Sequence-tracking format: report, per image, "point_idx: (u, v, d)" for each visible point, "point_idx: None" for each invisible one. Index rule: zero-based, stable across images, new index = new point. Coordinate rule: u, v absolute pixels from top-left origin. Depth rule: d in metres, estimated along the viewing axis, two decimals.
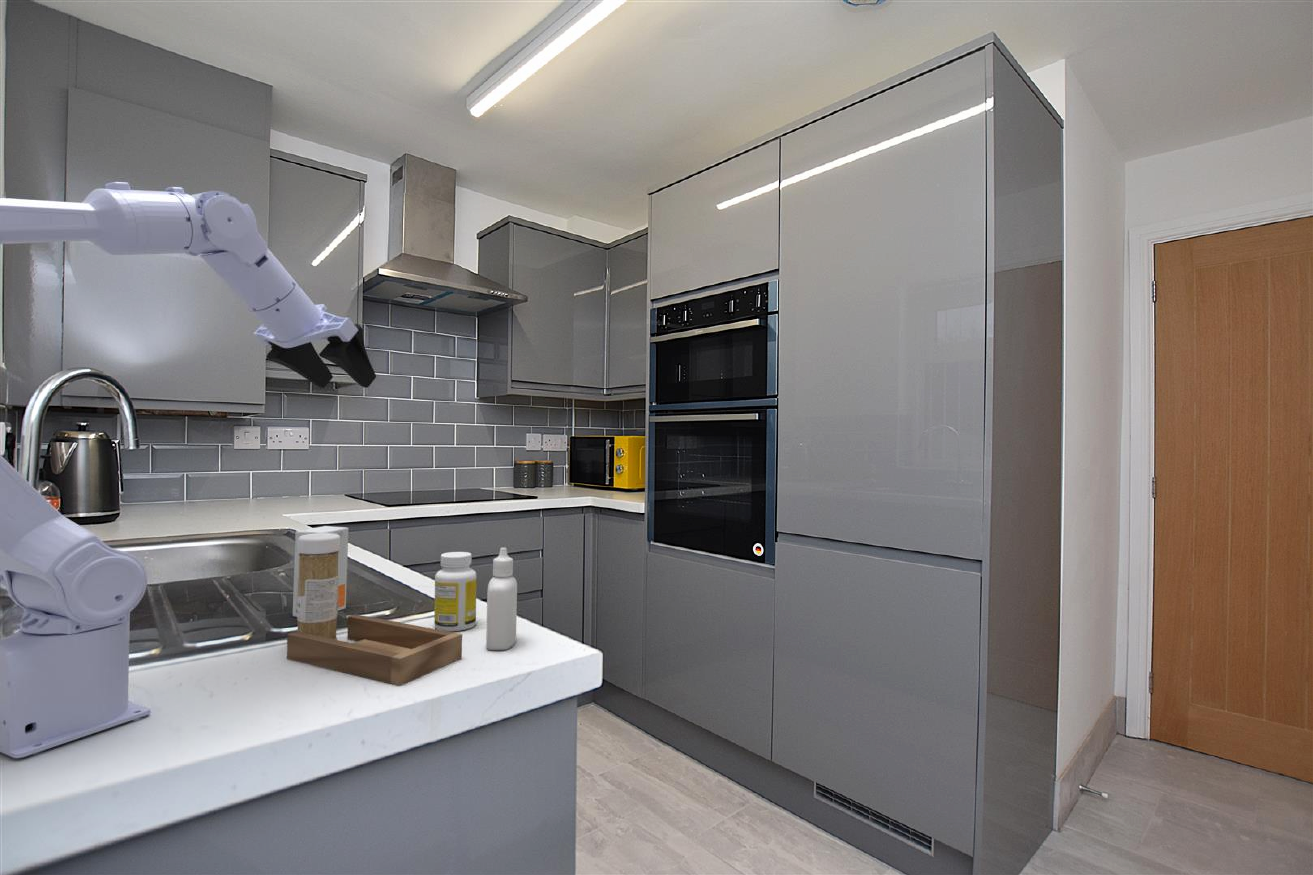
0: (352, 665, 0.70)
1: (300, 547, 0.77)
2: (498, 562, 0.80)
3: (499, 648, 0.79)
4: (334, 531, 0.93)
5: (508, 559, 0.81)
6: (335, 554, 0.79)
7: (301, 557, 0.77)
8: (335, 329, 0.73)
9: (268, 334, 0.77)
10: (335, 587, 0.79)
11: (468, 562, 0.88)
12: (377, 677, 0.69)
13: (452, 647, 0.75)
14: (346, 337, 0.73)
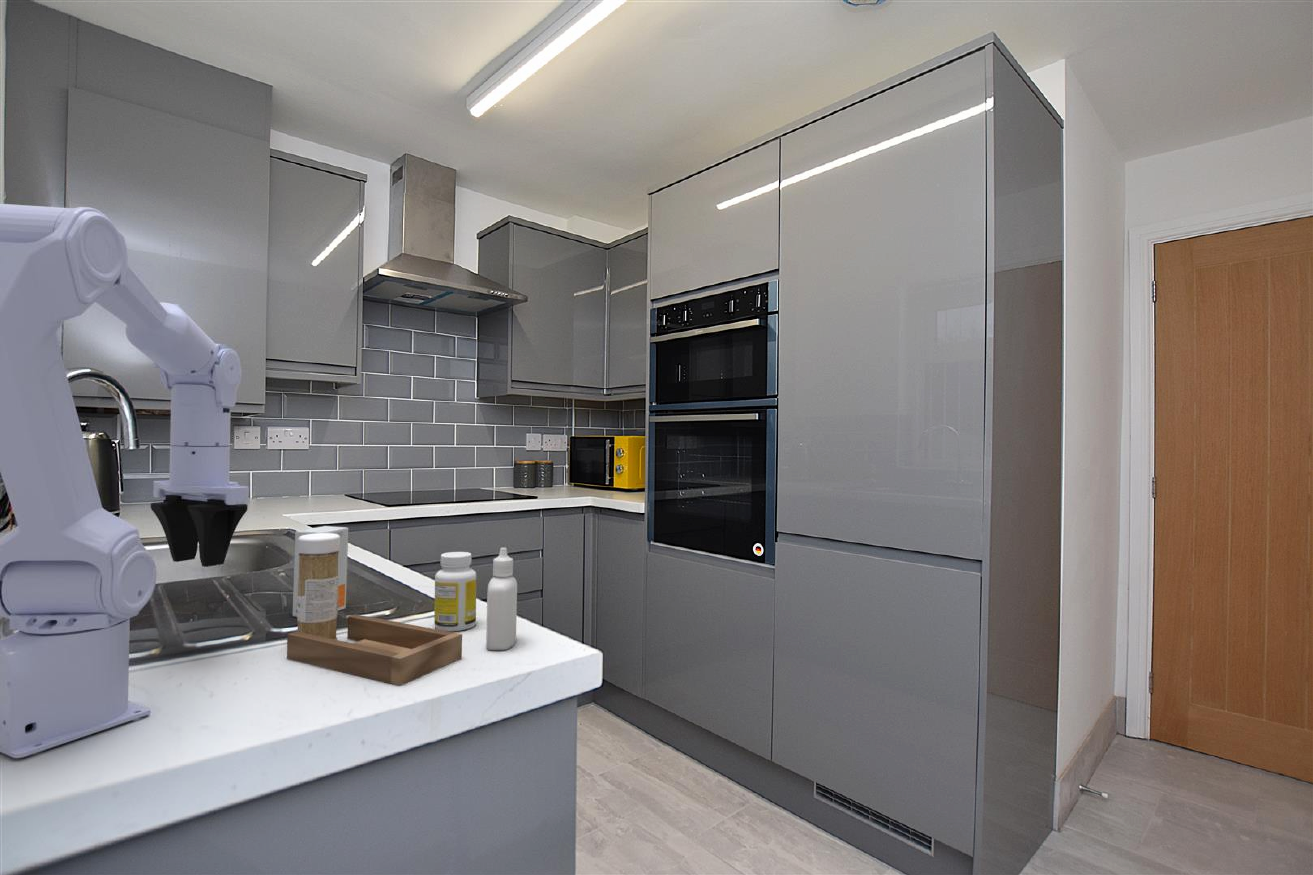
0: (352, 665, 0.70)
1: (300, 547, 0.77)
2: (498, 562, 0.80)
3: (499, 648, 0.79)
4: (334, 531, 0.93)
5: (508, 559, 0.81)
6: (335, 554, 0.79)
7: (301, 557, 0.77)
8: (228, 488, 0.72)
9: (166, 483, 0.77)
10: (335, 587, 0.79)
11: (468, 562, 0.88)
12: (377, 677, 0.69)
13: (452, 647, 0.75)
14: (231, 500, 0.72)
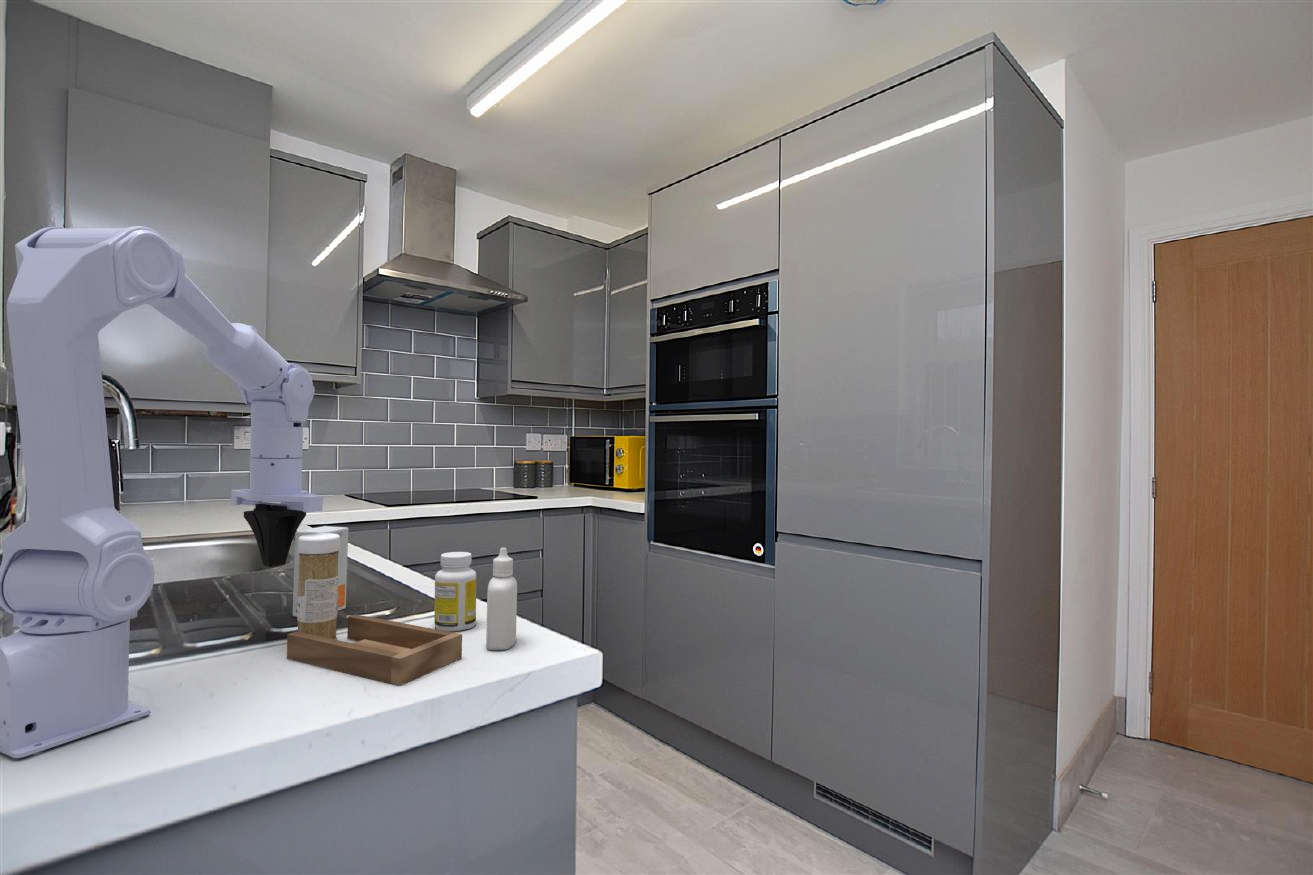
0: (352, 665, 0.70)
1: (300, 547, 0.77)
2: (498, 562, 0.80)
3: (499, 648, 0.79)
4: (334, 531, 0.93)
5: (508, 559, 0.81)
6: (335, 554, 0.79)
7: (301, 557, 0.77)
8: (305, 496, 0.79)
9: (244, 492, 0.83)
10: (335, 587, 0.79)
11: (468, 562, 0.88)
12: (377, 677, 0.69)
13: (452, 647, 0.75)
14: (309, 507, 0.79)
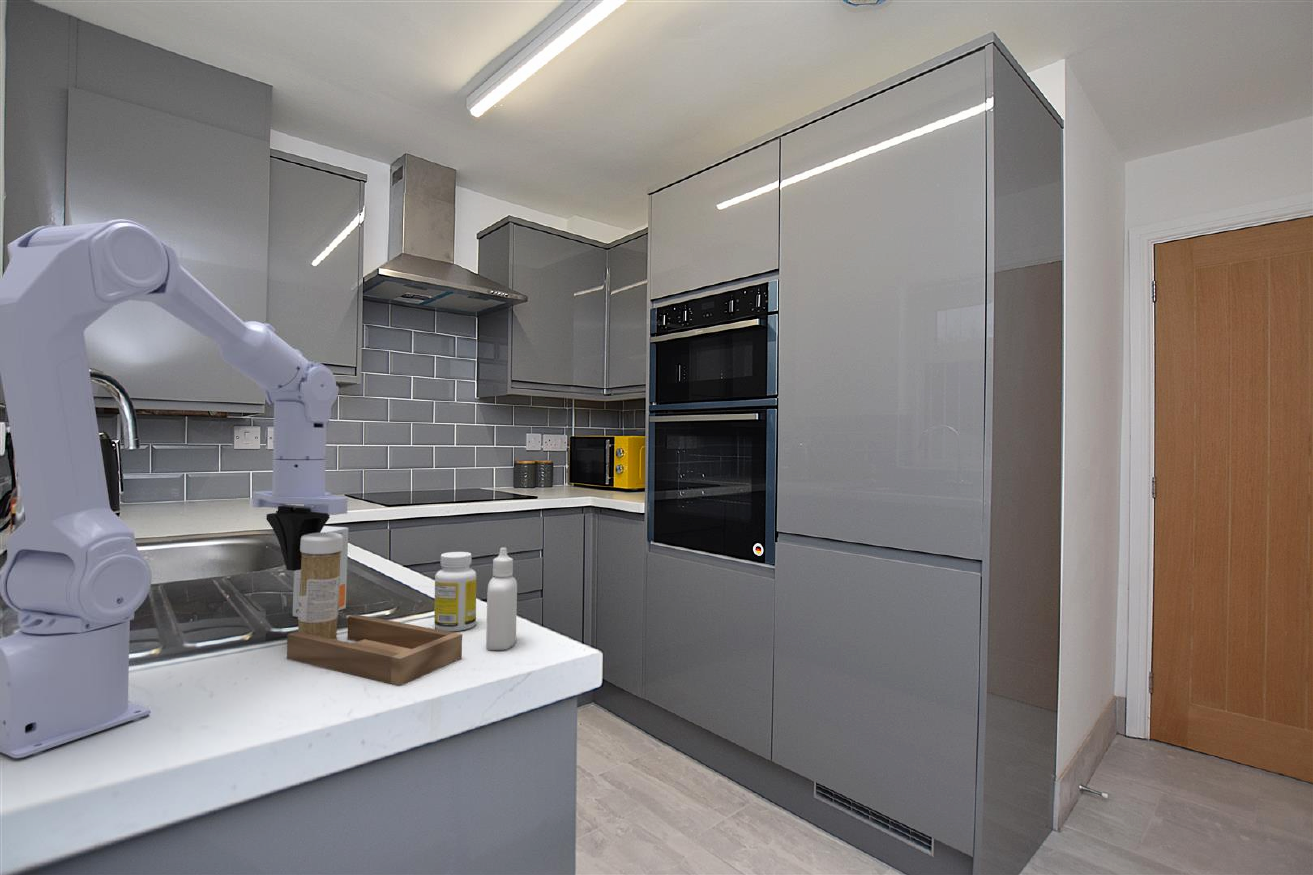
0: (352, 665, 0.70)
1: (303, 546, 0.77)
2: (498, 562, 0.80)
3: (499, 648, 0.79)
4: (334, 531, 0.93)
5: (508, 559, 0.81)
6: (337, 554, 0.79)
7: (303, 557, 0.77)
8: (330, 499, 0.77)
9: (266, 494, 0.81)
10: (337, 587, 0.79)
11: (468, 562, 0.88)
12: (377, 677, 0.69)
13: (452, 647, 0.75)
14: (334, 510, 0.77)
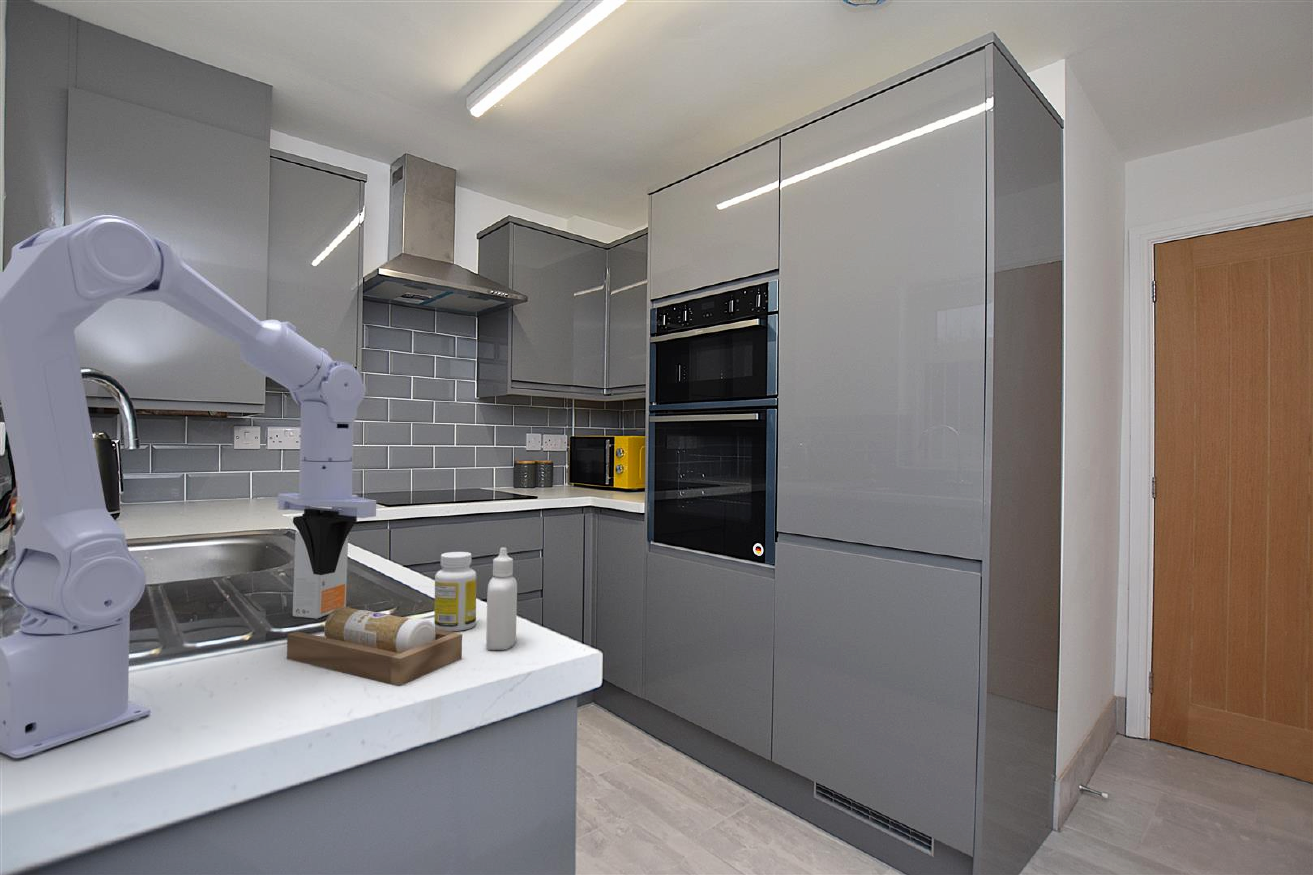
0: (352, 665, 0.70)
1: (403, 629, 0.73)
2: (498, 562, 0.80)
3: (499, 648, 0.79)
4: None
5: (508, 559, 0.81)
6: None
7: (396, 628, 0.73)
8: (359, 501, 0.75)
9: None
10: None
11: (468, 562, 0.88)
12: (377, 677, 0.69)
13: (452, 647, 0.75)
14: (363, 513, 0.75)
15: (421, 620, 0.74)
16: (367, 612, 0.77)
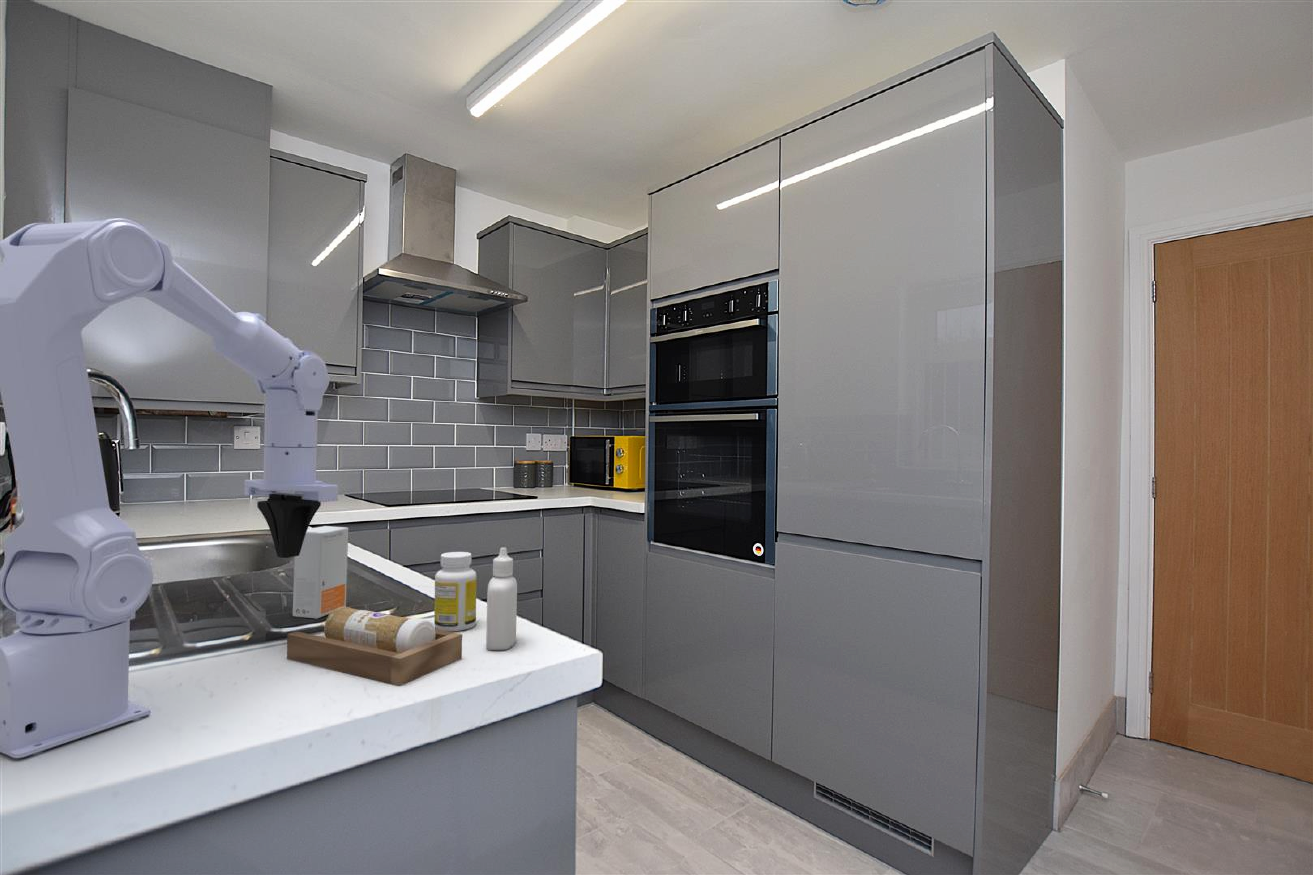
0: (352, 665, 0.70)
1: (403, 629, 0.73)
2: (498, 562, 0.80)
3: (499, 648, 0.79)
4: (334, 531, 0.93)
5: (508, 559, 0.81)
6: None
7: (396, 628, 0.73)
8: (320, 486, 0.77)
9: (257, 482, 0.82)
10: None
11: (468, 562, 0.88)
12: (377, 677, 0.69)
13: (452, 647, 0.75)
14: (324, 497, 0.77)
15: (421, 620, 0.74)
16: (367, 612, 0.77)
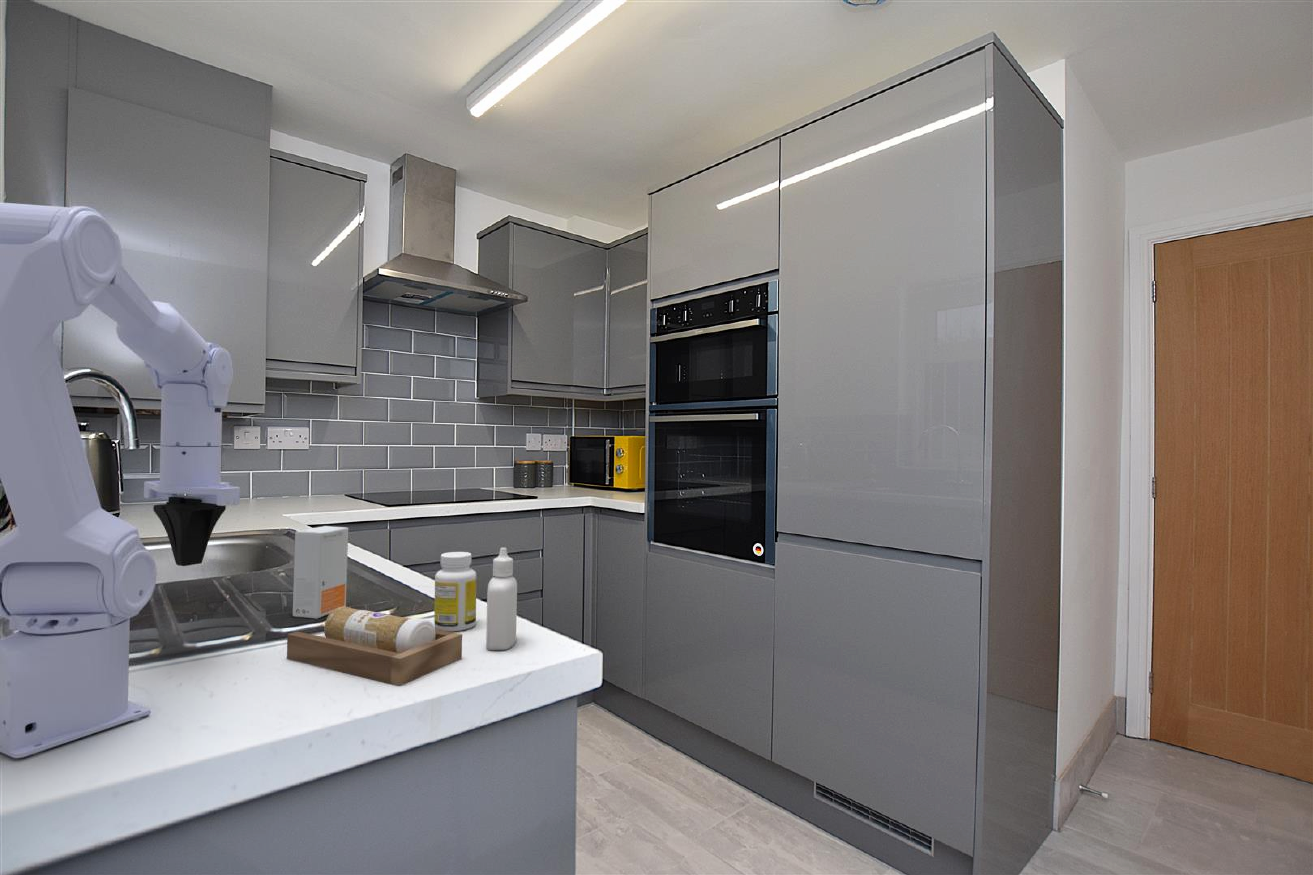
0: (352, 665, 0.70)
1: (403, 629, 0.73)
2: (498, 562, 0.80)
3: (499, 648, 0.79)
4: (334, 531, 0.93)
5: (508, 559, 0.81)
6: None
7: (396, 628, 0.73)
8: (219, 488, 0.71)
9: (157, 484, 0.76)
10: None
11: (468, 562, 0.88)
12: (377, 677, 0.69)
13: (452, 647, 0.75)
14: (222, 500, 0.71)
15: (421, 620, 0.74)
16: (367, 612, 0.77)
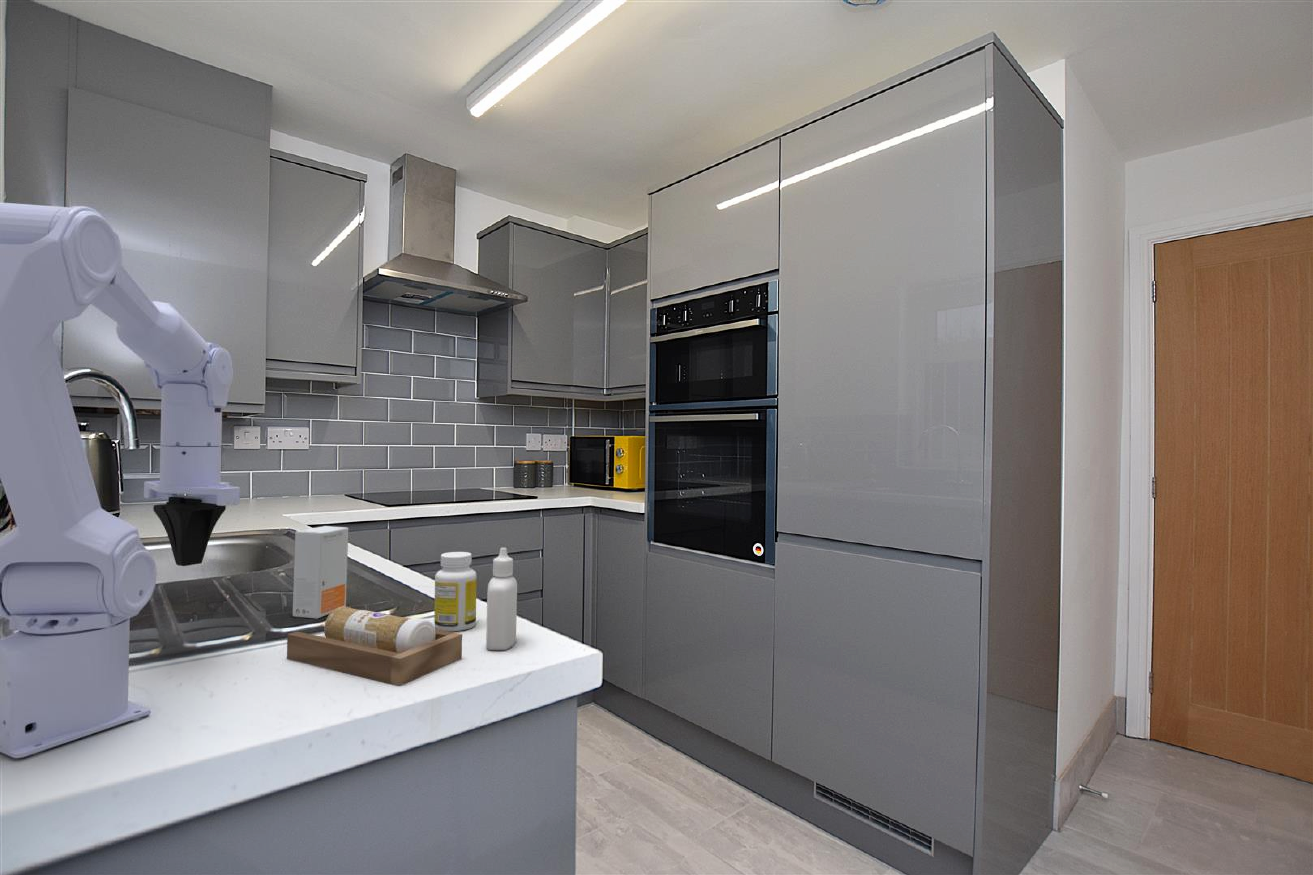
0: (352, 665, 0.70)
1: (403, 629, 0.73)
2: (498, 562, 0.80)
3: (499, 648, 0.79)
4: (334, 531, 0.93)
5: (508, 559, 0.81)
6: None
7: (396, 628, 0.73)
8: (219, 488, 0.71)
9: (157, 484, 0.76)
10: None
11: (468, 562, 0.88)
12: (377, 677, 0.69)
13: (452, 647, 0.75)
14: (222, 500, 0.71)
15: (421, 620, 0.74)
16: (367, 612, 0.77)
